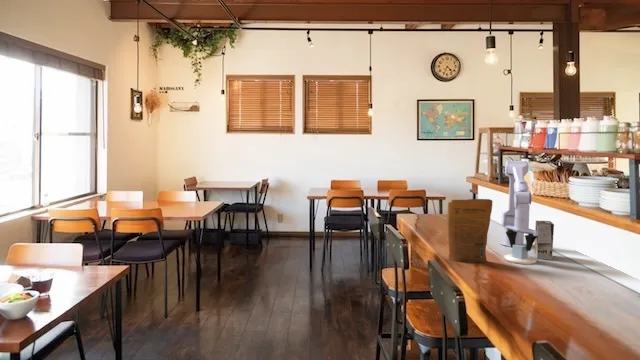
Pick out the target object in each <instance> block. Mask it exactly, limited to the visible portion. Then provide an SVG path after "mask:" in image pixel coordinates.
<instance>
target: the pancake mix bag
mask: <svg viewBox="0 0 640 360" xmlns="http://www.w3.org/2000/svg"><path fill="white" fill-rule="evenodd" d="M493 201H494V200H492V199H490V198H469V199H451V200H450V201H448V203H447V217H446V218H447V219H446V224H447V228H446V229H447V238H448V240H447V241H448V244H447V245H448V252H449V254H448V260H449V261H453V262H456V263H458V262H459V263H462V262H463V263H485V262H487V261H488V260H487V255H486V253H487V251H486V250H487V244H488V232H489V228H490V225H491V216H492V209H493V203H494V202H493Z"/></svg>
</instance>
